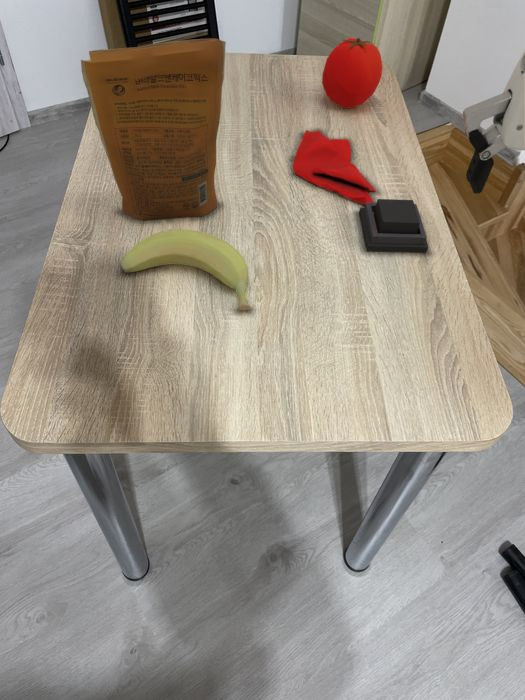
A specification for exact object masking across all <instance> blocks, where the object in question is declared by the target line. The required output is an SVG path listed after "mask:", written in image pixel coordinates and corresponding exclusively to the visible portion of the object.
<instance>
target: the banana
mask: <svg viewBox="0 0 525 700" xmlns="http://www.w3.org/2000/svg"><path fill="white" fill-rule="evenodd" d="M119 264H120V266H121V268H122V270H123V272H124V273H136V272H139V271H143V270H146V269H149V268H154V267H158V266H165V265H186V266H190V267H195V268H198V269H200V270H203V271H205V272H207V273H208V274H210V275H212V276H213V277H215V278H216V279H217V280H219V281H220V282H221V283H222V284H224V285H225V286H227V287H229V288H231V289H232V290H235V291H236V294H237V297H238V305H237V307H238V310H239V311H243V312H245V311H246V312H247V311H249V310H251V306H250V304H249V301H248V299H247V295H246V294H247V293H246V292H247V285H248V282H249V278H250V277H249V276H250V275H249V269H248V265H247V262H246V260H245V258H244V256H243V255H242V253H240V251H238V250H237V248H235V247H234V246H233V245H232V244H230V243H229V242H228V241H225V240H224V239H222V238H220V237H218V236H216V235H213V234H211V233H208V232H204V231H201V230H200V231H199V230H194V229H182V228H181V229H180V228H179V229H169V230H164V231H160V232H156V233H153V234H151V235H149V236H147V237H145V238H143V239H142V240H140V241H138V242H137V243H136V244H134V245H133V246H132V247H131V248H130V249H129V250H128V251H127V252H126V253H125V254H124V256H123V258H122V260H121V262H120V263H119Z"/></svg>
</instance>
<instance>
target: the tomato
mask: <svg viewBox="0 0 525 700" xmlns="http://www.w3.org/2000/svg"><path fill="white" fill-rule="evenodd" d="M331 50H332V51H331V52H330V53H329V54H328V56H327V58H326V60H325V62H324V63H325V64H324V67H323V71H322V77H321V84H322V87H323V90H324V92H325V95H326V96H327V97H328V99H329V100H330V101H331V102H332V103H333V104H335V105H337V106H339V107H342V108H344V109H347V108H349V109H350V108H356V107H359V106H362V105H363V104H364V103H366V102H367V101H368V100H370V98H371V97H372V96H373V95H374V93H375V92H376V90H377V88H378V86H379V85H380V82H381V79H382V76H383V75H382V74H383V61H382V54H381V52H380V50H379V48H378V47H377V46H376V45H375V43H374V42H371V41H369V40H362V39H361V38H360V37H357V38H355V37H349V38H346V39H342V41H341V42H339V44H337V46H335V47H334V48H333V49H331Z"/></svg>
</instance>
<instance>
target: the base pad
mask: <svg viewBox="0 0 525 700" xmlns="http://www.w3.org/2000/svg"><path fill="white" fill-rule="evenodd" d="M376 204H377V202H374V203H368V202H366V204H365V205H364V207H361V206H360V207H359V210H358V215H359V219H360V225H361V229H362V234H363V239H364V240H363V241H364V246H365V250H366V252H379V253H380V252H383V253H388V252H389V253H422V254H423V253H424V254H427V253H428V250H429V244H428V241H427V234H426V230H425V227H424V223H423V220H422V218H421V215H420V212H419V211H420V210H419V208H418V205H417V203H414V205H415V208H416V212H417V215H418V218H419V221H420V224H419V227H418V230H417V233H416V234H386V233H378V231H377V227H376V222H375V218H374V211H375V208H376Z"/></svg>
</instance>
